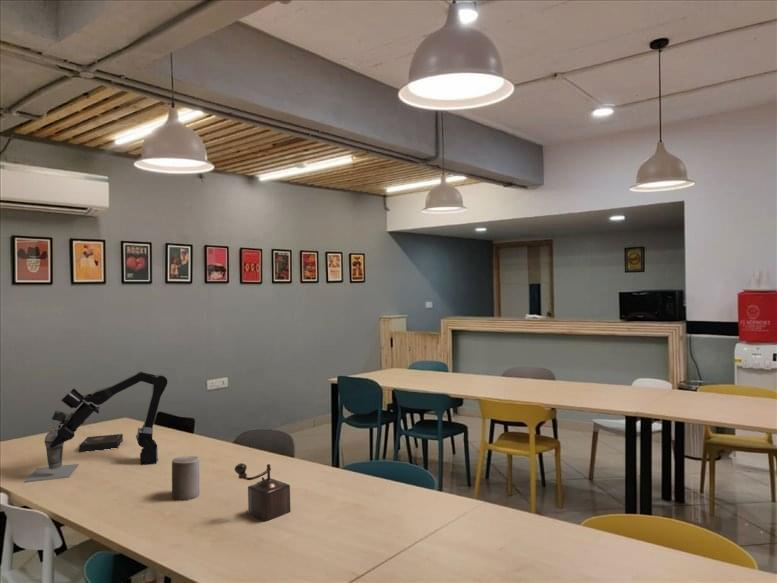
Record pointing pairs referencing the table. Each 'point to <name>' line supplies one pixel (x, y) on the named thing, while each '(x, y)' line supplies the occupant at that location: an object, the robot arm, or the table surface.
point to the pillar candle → (185, 477)
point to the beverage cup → (53, 450)
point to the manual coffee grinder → (266, 495)
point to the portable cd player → (101, 442)
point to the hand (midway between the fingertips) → (50, 445)
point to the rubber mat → (51, 473)
